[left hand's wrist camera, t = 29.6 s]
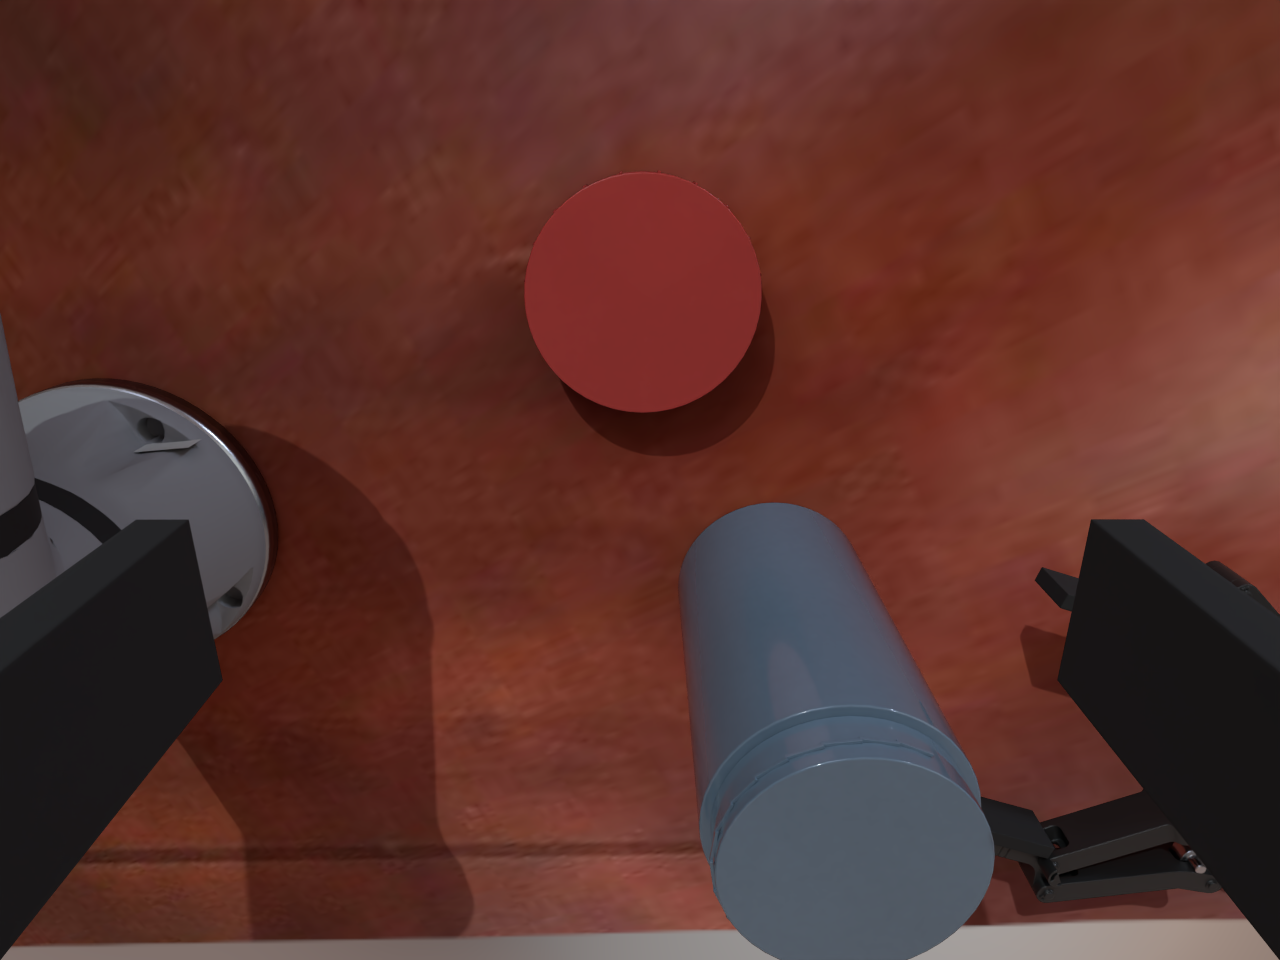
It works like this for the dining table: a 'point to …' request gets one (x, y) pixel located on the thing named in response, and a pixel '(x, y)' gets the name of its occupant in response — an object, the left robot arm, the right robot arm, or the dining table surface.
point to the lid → (643, 292)
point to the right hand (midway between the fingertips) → (985, 701)
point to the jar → (821, 750)
